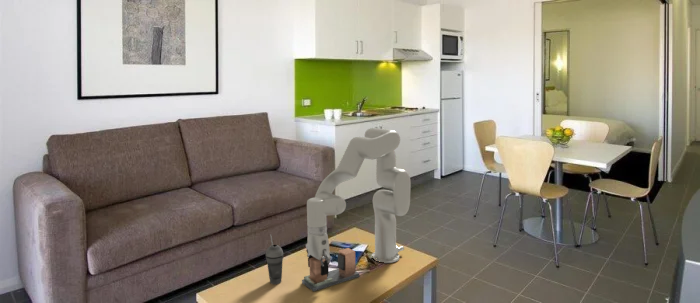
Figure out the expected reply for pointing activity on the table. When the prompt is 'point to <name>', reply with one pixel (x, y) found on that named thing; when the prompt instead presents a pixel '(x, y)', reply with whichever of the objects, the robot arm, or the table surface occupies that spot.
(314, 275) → the block
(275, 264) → the beverage cup
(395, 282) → the table surface
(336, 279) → the rail
